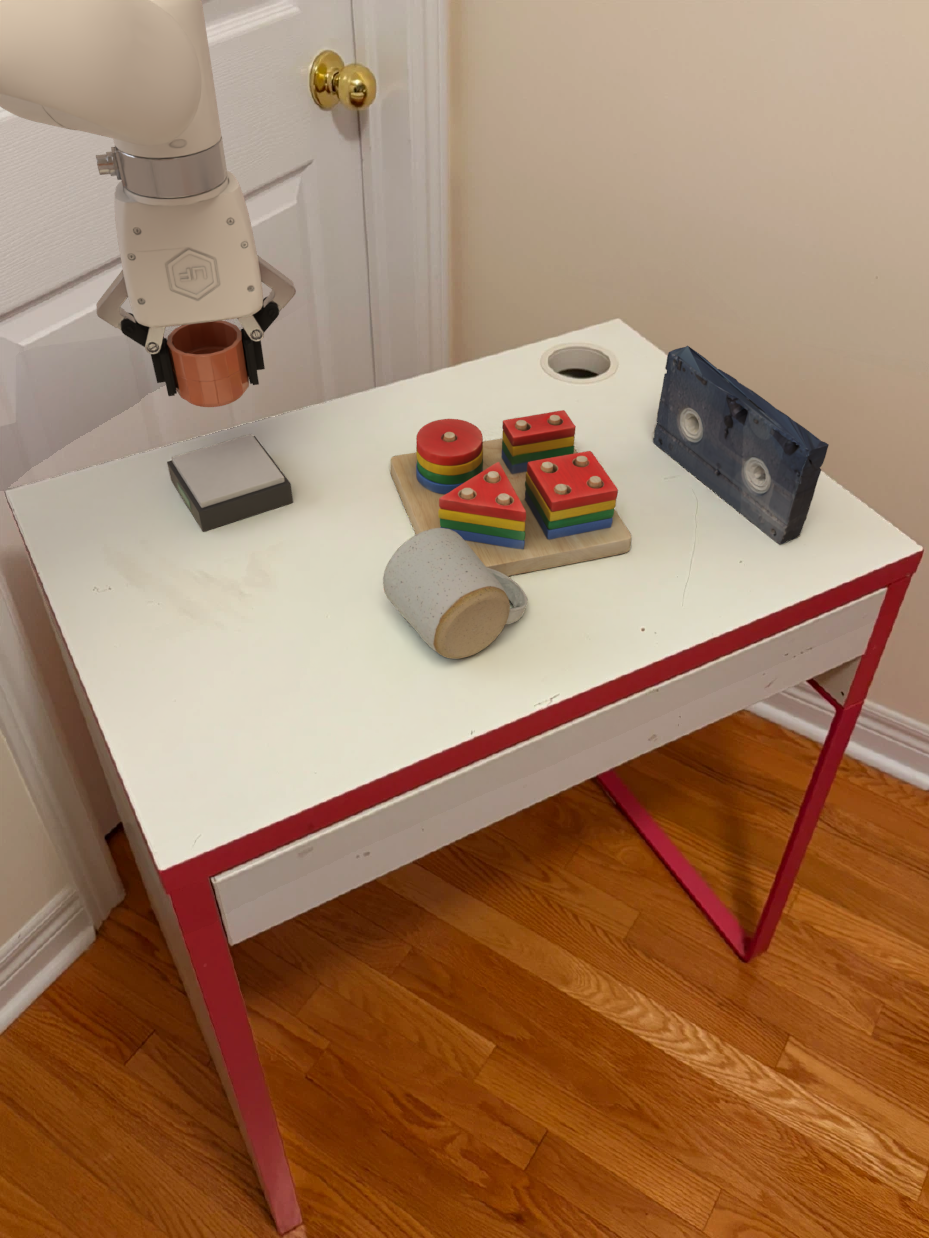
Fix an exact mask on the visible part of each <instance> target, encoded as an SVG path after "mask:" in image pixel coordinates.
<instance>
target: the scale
mask: <svg viewBox="0 0 929 1238" xmlns="http://www.w3.org/2000/svg"><path fill="white" fill-rule="evenodd" d="M166 465H167V468H168V469H167V470H168V473H169V477H170V481H171V483H172V484H173V486H174V487H175V489H176V491H177V492H178V494H179V496H180V498H181V499H182V500H183V502H184V504H185V506H186V507H187V508H188V510H189V512H190V513H191V515H192V517H193V518H194V520H195V521H196V523H197V525H198V526H199V528H200V529H201V532H203V533H204V532H207V531H210V530H214V529H216V528H219V527H222V526H225V525H228V524H231V523H235V522H238V521H241V520H244V519H247V518H250V517H254V516H256V515H259V514H263V513H265V512H268V511H271V510H274V509H278V508H281V507H285V506H287V505H290V504H293V503H294V499H293V492H292V491H293V489H292V483H291V482H290V481H289V479H288V478H287V476H286V475H285V473H283V470H281V469H280V467H279V466H278V464H277V463H276V462H275V460H274V459H273V457H272V456H271V455H270V454H269V453H268V452H267V450H266V449H265V447H264V446H263V445H262V443H261V442H260V441H259V439H258V438H257V437H256V435H254V434H252V433H249V434H246V435H241V436H239V437H234V438H232V439H228V440H225V441H222V442H219V443H214V444H212V445H208V446H205V447H204V446H203V447H201V448H198V449H195V450H191V451H188V452H184V453H181V454H178V455H175V456H171V460H168V461H166Z"/></svg>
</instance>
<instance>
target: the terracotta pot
mask: <svg viewBox="0 0 929 1238" xmlns="http://www.w3.org/2000/svg"><path fill="white" fill-rule="evenodd" d="M166 338H167V347H168V351H169V356H170V361H171V366H172V370H173V375H174V380H175V385H176V390H177V394H178V395H179V396H180V398H181V399H183V400H185V401H186V402H187V403H189V404H191V405H193V406H196V407H201V408H218V407H219V408H220V407H223V406H227V405H229V404H232V403H235V402H236V401H237V400H239V399H240V398H241V397H242V396H243V395H244V394H245V392H246V391H247V390H248V389H249V387H250V381H249V376H248V370H247V363H246V357H245V350H244V344H243V337H242V332H241V328H239V327H238V326H237V324H234V323H232V322H229V321H228V320H221V321H213V322H205V323H196V324H188V325H179V326H176V327H175V328H174V329H173V330H172V331H171V332H170V333H169V334H168V335H167V337H166Z"/></svg>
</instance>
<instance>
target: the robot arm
mask: <svg viewBox="0 0 929 1238" xmlns="http://www.w3.org/2000/svg"><path fill="white" fill-rule="evenodd" d="M212 68H213V66H212V61H211V54H210V46H209V41H208V33H207V27H206V19H205V14H204V6H203V2H202V0H0V108H1V109H2V110H5V111H7V112H8V113H10V114H12V115H14V116H17V117H19V118H21V119H24V120H28V121H31V122H34V123H39V124H44V125H49V126H53V127H57V128H61V129H66V130H71V131H79V132H83V133H88V134H92V135H97V136H101V137H105V138H110V139H112V141H113V144H114V146H111V147H110V149H111V151H106V152H105V153H103V154H96V155H95V161H96V165H97V170H98V173H99V175H100V176H104V175H105V176H106V175H110V176H111V177H116V180H117V181H119V182H118V183H117V184H116V186H115V191H114V222H115V230H116V237H117V238H116V239H117V243H118V244H117V245H118V250H119V256H120V262H121V268H122V270H121V271H120V272H119V274H118V275H117V276H116V277H115V278H114V280H113V281H112V282H111V284H110V285H109V287H108V288H107V289H106V290H105V292H104V293H103V294H102V295H101V297H100V298H99V299H98V300H97V302H96V316H97V317H98V318H99V319H101V320H102V321H104V322H106V323H107V324H109V325H110V326H112V327H114V328H115V329H118V330H119V331H121V333H122V334H123V335H124V336H126V337H128V338H129V339H130V340H132V341H134V342H135V343H137V344H139V345H140V346H141V347H143V348H144V349H145V351H146V352H147V353H148V354H150V359H151V361H152V366H153V370H154V375H155V379H156V383H157V384H160V383H161V384H162V383H165V386H166V392H167V395H168V397H173V396H174V397H175V396H176V395H177V394H178V392H177V390H176V385H175V380H174V375H173V370H172V366H171V361H170V356H169V351H168V347H167V338H168V337H165V333H166V329H167V328H168V327H169V328H170V327H179V326H181V325H188V324H196V323H205V322H213V321H221V320H222V321H228V320H229V321H230V320H236V319H237V321H238V322H239V323H240V325H241V327H242V328H240V330H241V332H242V337H243V344H244V350H245V357H246V363H247V370H248V376H249V385H252V386H259V385H260V382H259V376H258V375H259V374H258V371H263V370H265V369H266V367H265V361H264V353H263V347H262V340H263V339H264V337H265V333H266V331H267V330H268V329H269V327H271V325H273V323H274V321H276V319H278V317H279V316H280V312H281V311H282V310H283V309H284V308H285V307H286V306H287V305H288V304H289V303H290V301H291V300H292V299H293V298H294V297H295V295H296V293H297V290H296V287H295V284H294V282H293V280H292V279H290V278H289V277H288V276H287V275H285V274H284V273H282V272H281V271H279V269H277V268H276V267H274V266H273V265H272V264H270V263H269V262H268V261H266V260H265V259H264V258H262V257H261V256H259V255H258V251H257V246H256V241H255V235H254V231H253V225H252V223H251V222H252V221H251V217H250V213H249V210H248V206H247V203H246V199H245V196H244V193H243V191H242V187H241V185H240V182H239V181H238V179H237V177H236V175H235V174H234V173H232V172H231V171H229V170H228V169H227V162H226V155H225V150H224V149H225V148H224V143H223V136H222V130H221V123H220V116H219V115H220V114H219V109H218V102H217V96H216V94H217V93H216V87H215V82H214V81H215V80H214V74H213V69H212ZM263 284H264V285H265V286H267V287H268V288H269V289H271V290H270V292H269V294H268V296H265V297H264V294H263V293H264V292H263V290H264V289H263ZM127 299H128V301H129V305H130V309H131V312H132V313H131V312H128V311H126V310H125V309H124V308H122V305H123V304H124V303H125V301H126V300H127Z"/></svg>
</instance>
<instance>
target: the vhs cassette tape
mask: <svg viewBox="0 0 929 1238" xmlns="http://www.w3.org/2000/svg"><path fill="white" fill-rule="evenodd" d="M664 369H665V370H666V372H665V373H664V376H663V381H662V387H661V392H660V397H659V403H658V409H657V413H656V414H657V415H656V424H655V427H654V432H653V438H652V442H653V444H654V445H655V446H656V447H657V448H658V449H660V450H661V451H663V452H664V453H665V454H666V455H668V456H669V458H671V459H672V460H674V462H676V463H677V464H678V465H680V466H681V467H682V468H684V470H686V471H687V472H688V473H690V474H691V475H692V476H693V477H694V478H696V479H697V480H698V481H699V482H701V483H702V484H703V485H704V486H706V487H707V488H708V489H710V490H711V491H712V492H713V493H715V494H716V495H717V496H718V498H721V500H723V501H724V502H725V503H726V504H727V505H729V506H730V507H732V508H733V509H734V510H735V511H737V512H738V513H739V514H740V515H741V516H743V518H745V519H746V520H748V521H749V522H750V523H751V524H753V525H754V526H755V527H757V528H758V529H759V531H761V532H763V533H764V534H765V535H766V536H767V537H769V538H770V539H771V540H772V541H774V542H775V543H776V544H779V545H780V544H782V545H783V544H785V543H787V542H789V541H791V540H794V539H797V538H798V537H800V536H801V533H802V531H803V528H804V525H805V522H806V520H807V517H808V514H809V512H810V508H811V504H812V502H813V499H814V495H815V491H816V488H817V484H818V481H819V478H820V475H821V472H822V468H821V467H822V466H823V464H824V463H825V459H826V456H827V454H828V453H827V452H828V449H829V446H830V445H829V443H827V442H826V441H823V440H821V439H820V438H819V437H818V436H816V435H815V434H814V433H812V432H810V431H809V430H808V429H807V428H805V427H804V426H803V425H801V424H799V423H798V422H797V421H795V420H794V419H792V418H791V417H790V416H789V415H787V414H786V413H785V412H783V411H781V410H780V409H778V408H777V407H775V406H774V405H773V404H771V403H770V402H769V401H767V400H766V399H765V398H763V397H762V396H761V395H759V394H758V393H757V392H755V391H753V390H752V389H750V388H749V387H747V386H745V385H744V384H743V383H741V382H739V381H738V379H736V378H735V377H734V376H732V375H730V374H729V373H727V372H725V371H723V370H722V369H720V368H717V367H716V366H715V365H714V364H713V363H712V362H710V360H708V359H707V358H706V357H704V356H703V355H701V354H700V353H699V352H697V351H696V350H695V349H693V348H692V347H690V345H685V346H683V347H679V348H678V347H677V348H675V349H672V350H670V351H669V352H668V353H667V357H666V363H665V367H664Z"/></svg>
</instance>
